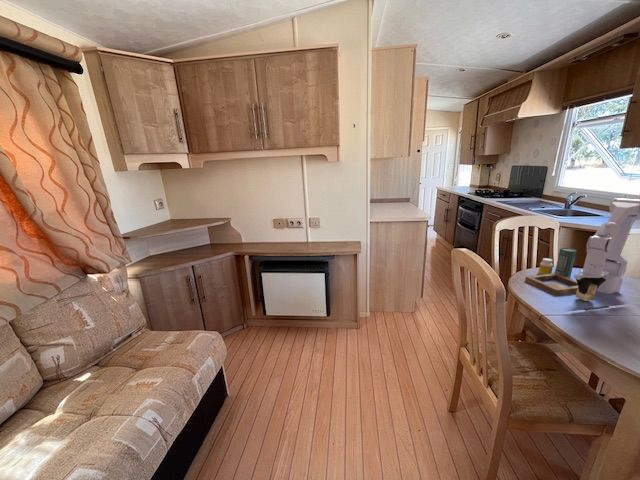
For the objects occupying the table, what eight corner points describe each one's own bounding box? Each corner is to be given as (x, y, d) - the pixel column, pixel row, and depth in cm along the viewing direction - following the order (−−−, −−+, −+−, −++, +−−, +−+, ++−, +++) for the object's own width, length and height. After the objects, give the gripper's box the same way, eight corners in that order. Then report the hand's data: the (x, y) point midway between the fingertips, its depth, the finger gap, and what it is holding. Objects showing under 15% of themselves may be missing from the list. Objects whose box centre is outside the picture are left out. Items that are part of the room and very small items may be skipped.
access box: (554, 279, 137) (556, 273, 136) (588, 293, 122) (590, 286, 121) (524, 282, 135) (525, 276, 134) (555, 297, 120) (556, 290, 119)
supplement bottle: (540, 272, 146) (543, 256, 143) (552, 275, 141) (555, 259, 139) (536, 275, 143) (539, 259, 140) (548, 278, 139) (552, 261, 136)
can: (572, 277, 139) (579, 250, 135) (564, 278, 138) (570, 251, 134) (560, 272, 145) (566, 247, 141) (551, 274, 143) (557, 248, 139)
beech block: (583, 295, 117) (586, 281, 115) (593, 300, 113) (597, 285, 111) (575, 296, 116) (579, 282, 114) (585, 301, 112) (589, 286, 110)
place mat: (580, 295, 121) (581, 294, 120) (609, 307, 110) (609, 306, 110) (560, 297, 119) (560, 297, 119) (586, 310, 109) (587, 309, 109)
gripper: (598, 259, 114) (590, 286, 118) (569, 261, 113) (562, 290, 116) (617, 264, 108) (609, 294, 111) (587, 267, 106) (579, 297, 110)
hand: (586, 292), depth 113 cm, fingers closed on beech block, 4 cm apart
